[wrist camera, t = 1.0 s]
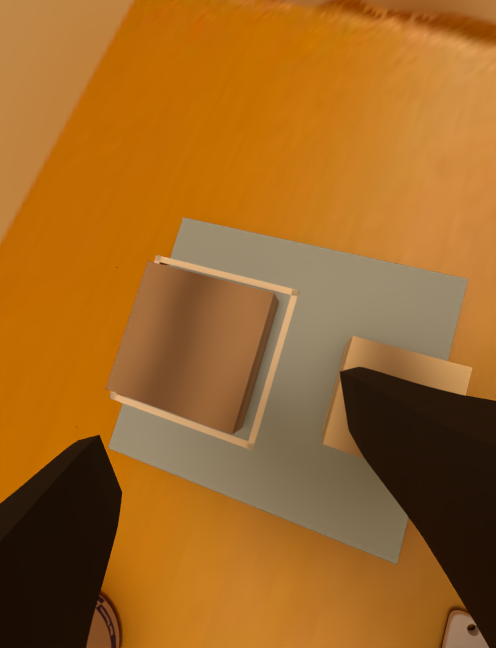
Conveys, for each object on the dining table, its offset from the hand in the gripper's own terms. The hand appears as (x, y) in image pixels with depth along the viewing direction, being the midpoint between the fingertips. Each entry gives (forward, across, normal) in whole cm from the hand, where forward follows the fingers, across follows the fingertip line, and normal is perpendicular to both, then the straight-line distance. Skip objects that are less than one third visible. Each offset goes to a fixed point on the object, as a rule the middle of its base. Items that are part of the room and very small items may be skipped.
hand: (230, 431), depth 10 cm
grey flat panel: (+11, -3, +4) cm, 12 cm away
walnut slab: (+12, +1, +1) cm, 13 cm away
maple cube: (+8, -8, +6) cm, 13 cm away
